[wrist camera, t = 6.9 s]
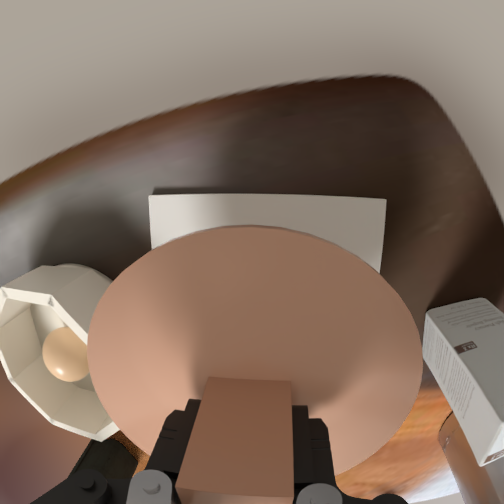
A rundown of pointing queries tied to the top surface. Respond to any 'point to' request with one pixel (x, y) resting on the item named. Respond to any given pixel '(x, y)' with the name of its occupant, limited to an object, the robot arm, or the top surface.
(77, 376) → the ball
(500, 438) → the skincare box
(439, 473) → the top surface
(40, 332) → the bowl
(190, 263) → the lid
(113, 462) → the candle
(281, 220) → the mat
